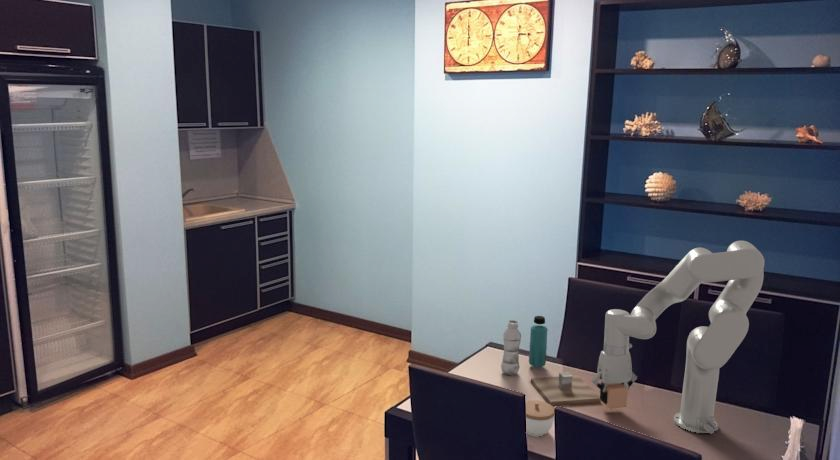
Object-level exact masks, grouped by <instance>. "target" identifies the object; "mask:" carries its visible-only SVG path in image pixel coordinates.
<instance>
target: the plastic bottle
mask: <svg viewBox="0 0 840 460" xmlns="http://www.w3.org/2000/svg"><path fill="white" fill-rule="evenodd" d="M506 327H507V328H506V329H505V330H504V332H503V334H502V336H503V337H502V338H503V339H502V340H503V356H502V361H501V365H500V367H501V372H502V373H503V374H504V375H507V376H514V375H515V376H516V375H518V373H519V371H520V362H519V361H520V360H519V352H520V351H519V350H520V346H521V345H520V344H521V341H522V333H521V332H520V330H519V329H518V328H519V322H518V321H517V320H512V319H511V320H508V321H507V326H506Z"/></svg>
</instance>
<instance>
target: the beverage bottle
mask: <svg viewBox="0 0 840 460" xmlns="http://www.w3.org/2000/svg"><path fill="white" fill-rule="evenodd" d="M533 323H535V324H533V325H532V326H530V336H529V338H530V339H529V344H528V345H529V351H528V364H529V365H530V366H532V367H536V368H541V367H545V366H546V362H547V348H548V347H547V345H548V342H547V341H548V331H549V330H548V327H547V326H546V325H545V324H546V317H544V316H542V315H535V316H534V318H533Z"/></svg>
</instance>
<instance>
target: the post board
mask: <svg viewBox="0 0 840 460" xmlns="http://www.w3.org/2000/svg"><path fill="white" fill-rule="evenodd" d="M530 383H531V385H532V386H533V387H534V389H536V391H538V393H539V394H540V395H541V396H542V398H543V399H544V400H545V402H546V403H548V404H550V405H551V406H553V407H554V406H568V405H581V404H593V403H594V404H596V403H602V402H601V401H600V395H598V393H596V392H595V391H594V389H592V388H591V387H590V386H589V384H587V383H586V381H584V380H583V378H581V377H580V376H579V375H577V374H576V375H573V374H571V373H570V372H569V371H565V372H558V376H548V377H532V378H530Z"/></svg>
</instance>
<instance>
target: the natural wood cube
mask: <svg viewBox="0 0 840 460" xmlns="http://www.w3.org/2000/svg"><path fill="white" fill-rule="evenodd" d="M627 389H628V388H627V387H626V386H624V385H623V384H622V383H615V384H609V385H608V388H607V390H606V392H607V404H604V403H603V402H602V401H601V399H600V401H601V402H600V403H602V404H604V406H605V407H607V409H609V410H610V409H620V408H621V409H622V408H627V404H628V403H627V401H628V390H627Z"/></svg>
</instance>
